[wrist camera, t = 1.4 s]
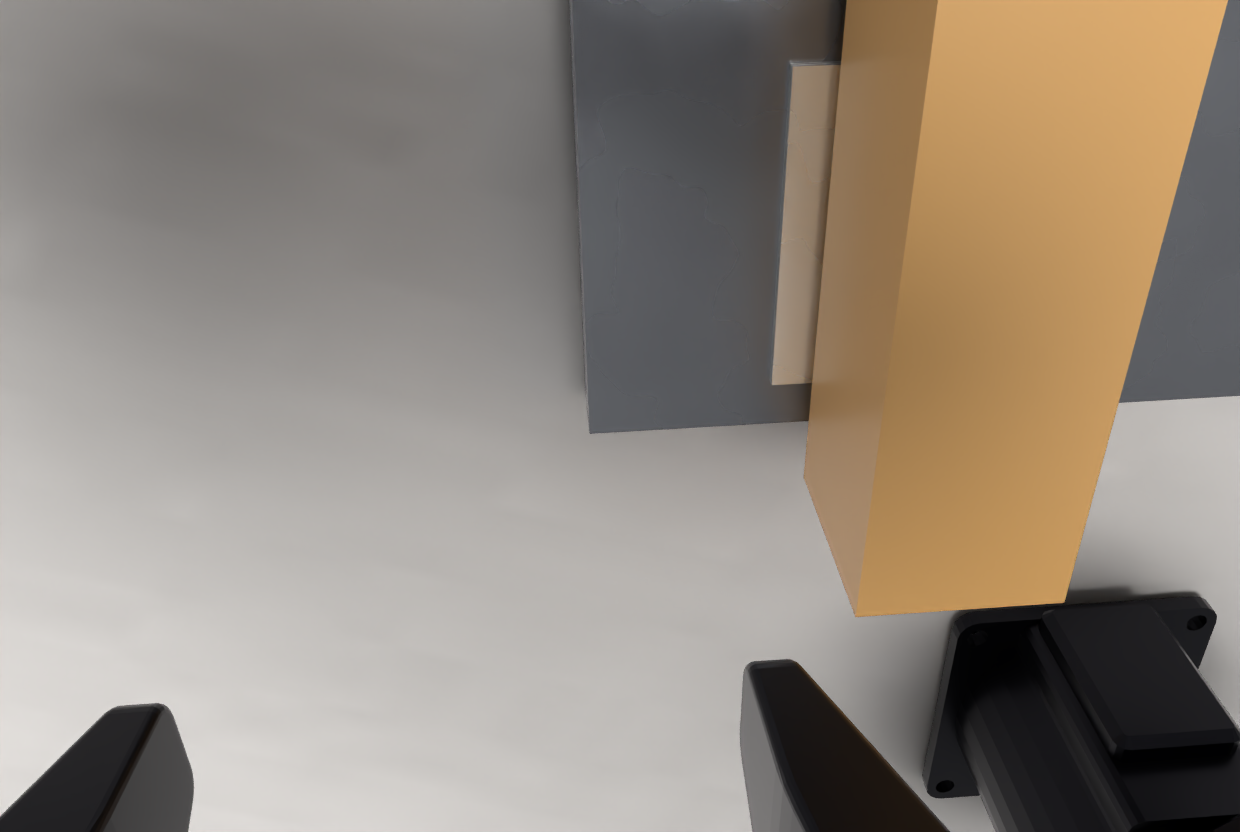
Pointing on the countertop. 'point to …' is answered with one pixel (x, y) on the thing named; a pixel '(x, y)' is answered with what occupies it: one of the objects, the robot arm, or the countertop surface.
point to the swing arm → (988, 281)
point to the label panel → (801, 215)
